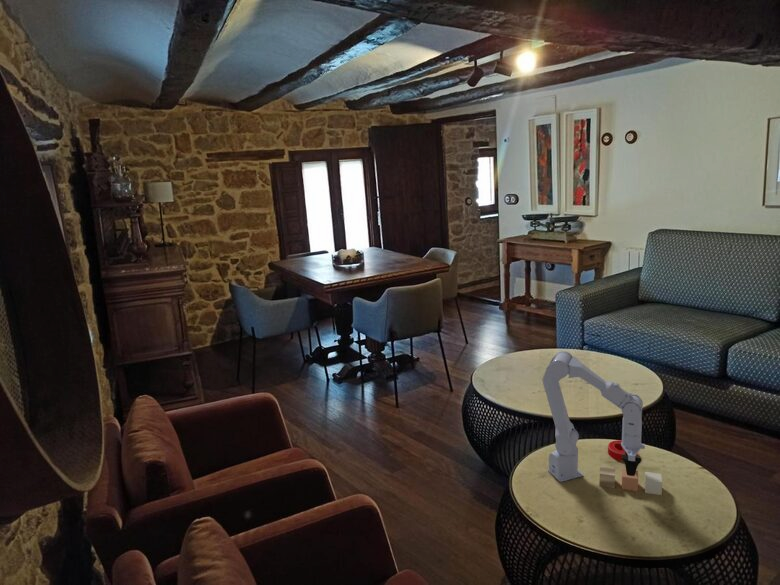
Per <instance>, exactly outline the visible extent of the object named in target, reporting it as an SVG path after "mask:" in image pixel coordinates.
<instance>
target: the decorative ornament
mask: <svg viewBox="0 0 780 585" xmlns="http://www.w3.org/2000/svg"><path fill="white" fill-rule="evenodd" d="M621 442H622V440H617V439H616V440H613V441H610V442H609V443H608V445H607V455H608V456H609V457H611V458H612V459H614V460H617V461H621V462H623V460H622V455H626V454H625V450H624V449H623V447H622V446H621Z"/></svg>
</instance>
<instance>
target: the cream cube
mask: <svg viewBox="0 0 780 585" xmlns="http://www.w3.org/2000/svg"><path fill="white" fill-rule="evenodd" d="M662 491H663V478H662V473H656V472H650V471H649V472H648V471H645V472H644V492H645V493H646V494H652V495H659V496H662Z"/></svg>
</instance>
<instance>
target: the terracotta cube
mask: <svg viewBox="0 0 780 585" xmlns="http://www.w3.org/2000/svg"><path fill="white" fill-rule="evenodd" d="M621 470H622V472H621V490H624V489H627V490H626V491H631V490H633V491H632V492H638V490H639V471H638V470H636V473H635V475H634V476H628V475H627V472H626V468H621Z"/></svg>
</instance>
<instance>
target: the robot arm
mask: <svg viewBox="0 0 780 585" xmlns="http://www.w3.org/2000/svg"><path fill="white" fill-rule="evenodd" d="M567 376H568V379H573V378H580V379H581V380H583V381H585V382H586V383H588V384H589V385H591V386H592V387H594V388H596V389H597V390H598V391H600V393H601V396H602V397H603V398H604V399H606V400H607V401H609V403H611V404H613V405H614V406H616V407H617V408H619V409H620V410H621V413H622V415H623V417H622V424H621V425H622V427H621V429H622V431H621V441H622V442H621V446H622V447H623V449H624V450H625V454H626V455H622V460H623V461H622V462H623V463H624V466H625V469H626V472H627V475H628V476H634V475H635V473H636V471H637V470H638V467H639V465H640V464H641V462H642V457H638V456H637V454H638V453H639V452H640V451H641V450H644V449H646V444H645V443H642V432H643V431H642V428H643V426H642V424H643V421H642V420H643V419H642V416H643V408H644V407H643V406H644V402H643V399H642V397H640V396H639V395H638V394H633V393H630V392H628V391H626V390H625V389H623V388H622V387H621V386H620V384H619V383H618V382H616V383H615V382H613V381H606V380H604V379H603V378H602V377H601V376H599V375H598V374H597V373H595V372H594V371H593V370H591V369H590V368H589V367H588V366H586V365H585V364H584V363H582V361H580V360H579V359H578V357H576V356H574V355H572V354H571V353H570V352H568V351H564V350H562V351H561V350H560V351H559V352H557V353H556V354H555V355H554V356H553V357H552V359H551V360H550V361H549V364H548V365H547V366H546V368H545V371H544V374H543V376H542V383H543V384H542V385H543V389H544V392H545V394H546V399H547V402H548V406H549V409H550V412H551V415H552V419H553V422H554V427H555V436H554V437H555V443H554V444H555V445H554V447H555V449H554V451H552V452H550V453H549V454H548V469H547V471H548V472H549V473H550V475H552V476H553V477H554V478H555V479H556V480H558V482H560V483H562V482H565V481H569V480H573V479H576V478H580V477H583V476H584V473H583V472H581V471H580V469H579V449H578V446H577V442H578V441H579V438H580V435H579V433H578V431H577V430H576V429H575V426H574V423H572V422H571V421H570V417H569V413H568V410H567V406H566V403H565V399H564V396H563V392H562V389H561V384H560V380H562V379H564V378H566V377H567Z"/></svg>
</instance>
